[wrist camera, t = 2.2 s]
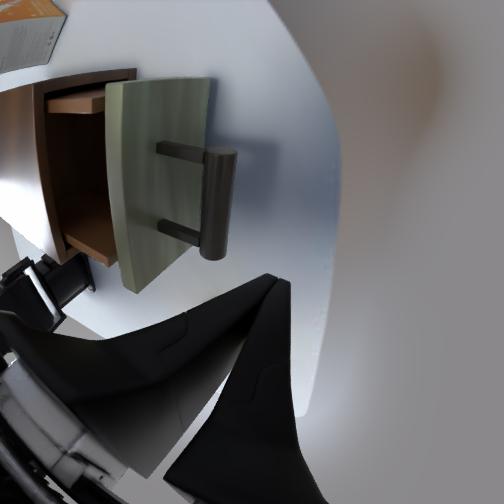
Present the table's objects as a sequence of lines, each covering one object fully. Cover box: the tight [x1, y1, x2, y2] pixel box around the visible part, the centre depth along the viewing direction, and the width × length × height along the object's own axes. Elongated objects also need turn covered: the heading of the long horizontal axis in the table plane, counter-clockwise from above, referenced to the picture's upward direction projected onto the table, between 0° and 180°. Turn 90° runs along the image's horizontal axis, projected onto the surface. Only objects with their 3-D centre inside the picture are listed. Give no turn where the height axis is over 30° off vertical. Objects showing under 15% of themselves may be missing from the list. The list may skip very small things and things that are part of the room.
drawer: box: [44, 77, 237, 294], centre depth 16 cm, size 18×11×7 cm, turn 82°
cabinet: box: [0, 68, 136, 265], centre depth 19 cm, size 15×13×9 cm
